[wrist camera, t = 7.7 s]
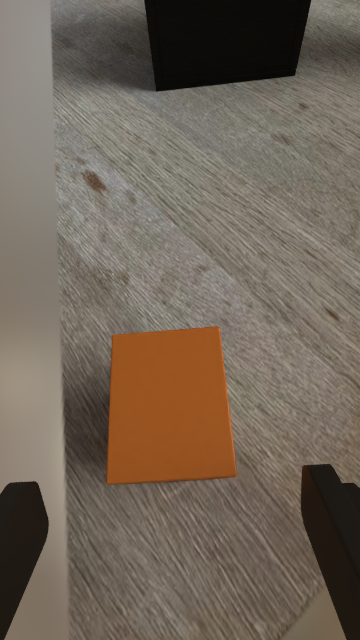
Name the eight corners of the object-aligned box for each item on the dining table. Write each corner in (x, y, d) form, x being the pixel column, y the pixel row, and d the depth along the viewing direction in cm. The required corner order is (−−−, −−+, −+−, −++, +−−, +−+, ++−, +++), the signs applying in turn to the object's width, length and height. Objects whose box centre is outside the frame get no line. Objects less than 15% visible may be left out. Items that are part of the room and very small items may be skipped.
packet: (148, 482, 17) (105, 484, 10) (147, 388, 19) (111, 334, 12) (224, 478, 17) (237, 476, 10) (215, 383, 19) (219, 325, 12)
